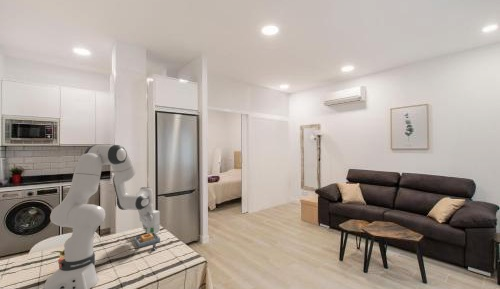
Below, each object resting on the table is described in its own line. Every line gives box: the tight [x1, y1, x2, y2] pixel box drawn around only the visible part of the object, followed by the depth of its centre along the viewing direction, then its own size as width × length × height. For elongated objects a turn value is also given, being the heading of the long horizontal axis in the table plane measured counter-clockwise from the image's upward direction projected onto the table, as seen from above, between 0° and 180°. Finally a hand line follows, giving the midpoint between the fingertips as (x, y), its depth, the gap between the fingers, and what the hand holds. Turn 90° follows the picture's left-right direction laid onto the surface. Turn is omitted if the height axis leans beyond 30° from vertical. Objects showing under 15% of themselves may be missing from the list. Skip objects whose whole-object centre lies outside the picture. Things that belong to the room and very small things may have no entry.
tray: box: [133, 232, 161, 248], centre depth 157 cm, size 13×13×2 cm
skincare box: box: [144, 209, 161, 234], centre depth 174 cm, size 8×7×16 cm
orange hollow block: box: [138, 233, 154, 243], centre depth 156 cm, size 6×8×3 cm
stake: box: [151, 243, 158, 252], centre depth 145 cm, size 3×3×4 cm
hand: (146, 231), depth 156 cm, fingers open, 8 cm apart
